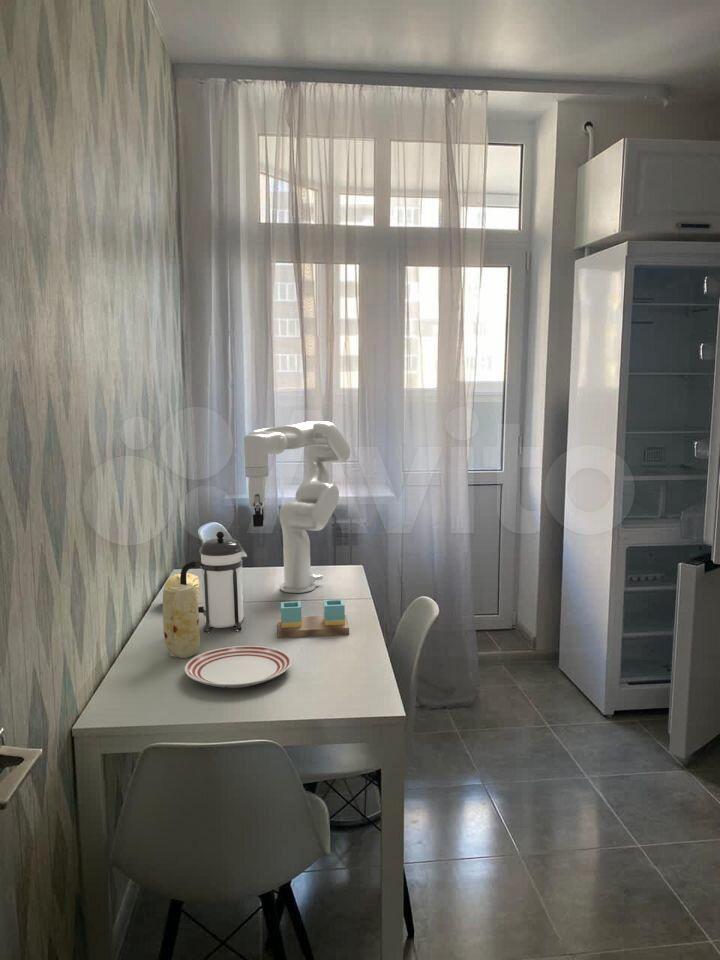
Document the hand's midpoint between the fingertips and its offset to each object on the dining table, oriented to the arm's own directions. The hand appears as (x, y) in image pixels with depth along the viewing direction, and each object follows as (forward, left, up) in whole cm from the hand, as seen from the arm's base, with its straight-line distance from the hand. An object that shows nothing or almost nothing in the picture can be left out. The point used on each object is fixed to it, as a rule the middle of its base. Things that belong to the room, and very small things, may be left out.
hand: (258, 523), depth 246 cm
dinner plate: (+31, +47, -29) cm, 63 cm away
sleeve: (-8, +33, -26) cm, 43 cm away
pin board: (-2, +30, -28) cm, 41 cm away
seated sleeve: (+4, +27, -26) cm, 38 cm away
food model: (+38, +26, -28) cm, 54 cm away
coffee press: (+20, +11, -28) cm, 36 cm away
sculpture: (+20, -19, -28) cm, 40 cm away
